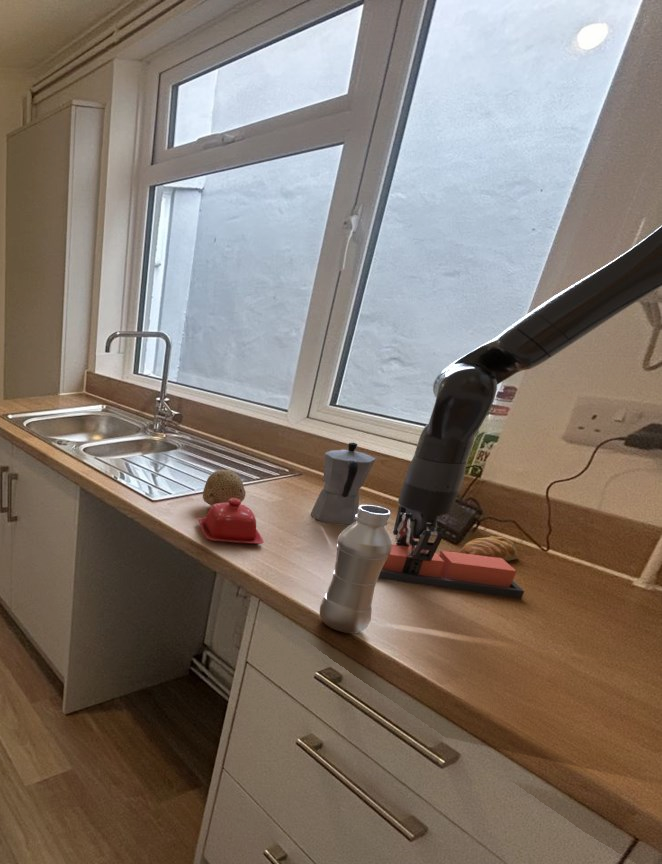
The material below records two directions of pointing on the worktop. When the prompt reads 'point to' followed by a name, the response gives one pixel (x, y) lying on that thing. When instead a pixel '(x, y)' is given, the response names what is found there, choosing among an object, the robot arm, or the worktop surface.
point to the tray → (454, 584)
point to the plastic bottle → (357, 571)
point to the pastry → (491, 548)
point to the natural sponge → (223, 487)
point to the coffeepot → (342, 485)
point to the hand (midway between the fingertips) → (403, 568)
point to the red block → (476, 569)
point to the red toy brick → (399, 557)
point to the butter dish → (231, 523)
